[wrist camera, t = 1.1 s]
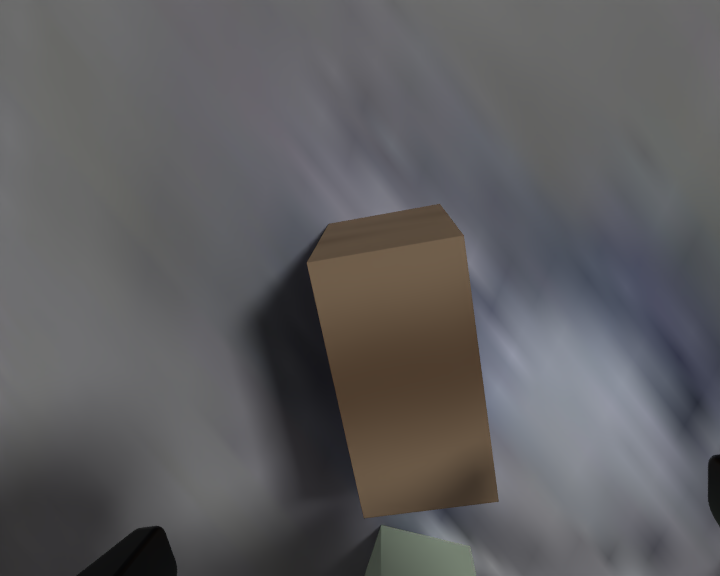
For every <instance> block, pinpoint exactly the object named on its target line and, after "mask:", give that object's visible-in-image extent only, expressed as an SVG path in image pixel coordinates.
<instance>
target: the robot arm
mask: <svg viewBox="0 0 720 576" xmlns="http://www.w3.org/2000/svg"><path fill="white" fill-rule="evenodd" d="M708 502H709V507H710V510H711V512H712V514H713V516H714V518H715V520H716V521H717V523H718V525H719V526H720V455H714V456H712V457H711V458H710V459H709V462H708ZM77 576H177V565H176V561H175V558H174V555H173V552H172V550H171V547H170V544H169V541H168V538H167V536H166V533H165V531H164V529H163V528H162V527H160V526H151V527H143V528H138V529H136V530H134V531H133V532H132V533H130V534H129V535H128V536H127V537H125V538H124V539H123V540H122V541H120V542H119V543H118V544H116V545H115V546H114V547H113V548H111V549H110V550H109V551H108V552H106V553H105V554H104V555H102V556H101V557H100V558H99V559H97V560H96V561H95V562H93V563H92V564H91V565H90V566H88V567H87V568H86V569H85V570H83V571H82V572H81V573H79V574H78V575H77Z"/></svg>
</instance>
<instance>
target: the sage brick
mask: <svg viewBox="0 0 720 576" xmlns="http://www.w3.org/2000/svg"><path fill="white" fill-rule="evenodd" d="M364 576H476V572H475V567H474V563H473V558H472V553H471V548H470V546H466V545H462V544H458V543H454V542H450V541H445V540H441V539H437V538H433V537H429V536H425V535H421V534H417V533H412V532H408V531H404V530H400V529H396V528H392V527H388V526H383V525H381V527H380V530H379V533H378V536H377V539H376V542H375V545H374V548H373V551H372V554H371V557H370V560H369V563H368V566H367V569H366V572H365V575H364Z"/></svg>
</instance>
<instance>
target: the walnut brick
mask: <svg viewBox="0 0 720 576" xmlns="http://www.w3.org/2000/svg"><path fill="white" fill-rule="evenodd" d="M307 266H308V271H309V275H310V279H311V284H312V288H313V293H314V297H315V302H316V306H317V311H318V315H319V320H320V324H321V329H322V333H323V338H324V342H325V347H326V351H327V356H328V360H329V364H330V369H331V373H332V378H333V382H334V387H335V391H336V396H337V400H338V405H339V409H340V414H341V418H342V423H343V427H344V432H345V436H346V441H347V445H348V449H349V454H350V458H351V463H352V467H353V472H354V476H355V481H356V485H357V490H358V494H359V499H360V503H361V508H362V512H363V517H364V518H371V517H379V516H387V515H395V514H403V513H411V512H419V511H427V510H435V509H443V508H451V507H459V506H467V505H475V504H483V503H491V502H499V500H498V493H497V485H496V477H495V470H494V462H493V455H492V447H491V439H490V432H489V424H488V416H487V409H486V401H485V394H484V386H483V378H482V371H481V363H480V356H479V348H478V340H477V333H476V325H475V317H474V310H473V302H472V295H471V287H470V279H469V272H468V264H467V256H466V249H465V241H464V235H463V234H462V233H461V231H460V230H459V229H458V227H457V226H456V225H455V223H454V222H453V221H452V219H451V218H450V217H449V215H448V214H447V213H446V212H445V210H444V209H443V208H442V206H441V205H440V204H437V205H431V206H426V207H420V208H415V209H409V210H403V211H398V212H392V213H387V214H381V215H376V216H370V217H365V218H359V219H353V220H348V221H342V222H337V223H331V224H328V226H327V228H326V230H325V231H324V233H323V235H322V237H321V238H320V240H319V242H318V244H317V246H316V247H315V249H314V251H313V253H312V254H311V256H310V258H309V260H308V261H307Z"/></svg>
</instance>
